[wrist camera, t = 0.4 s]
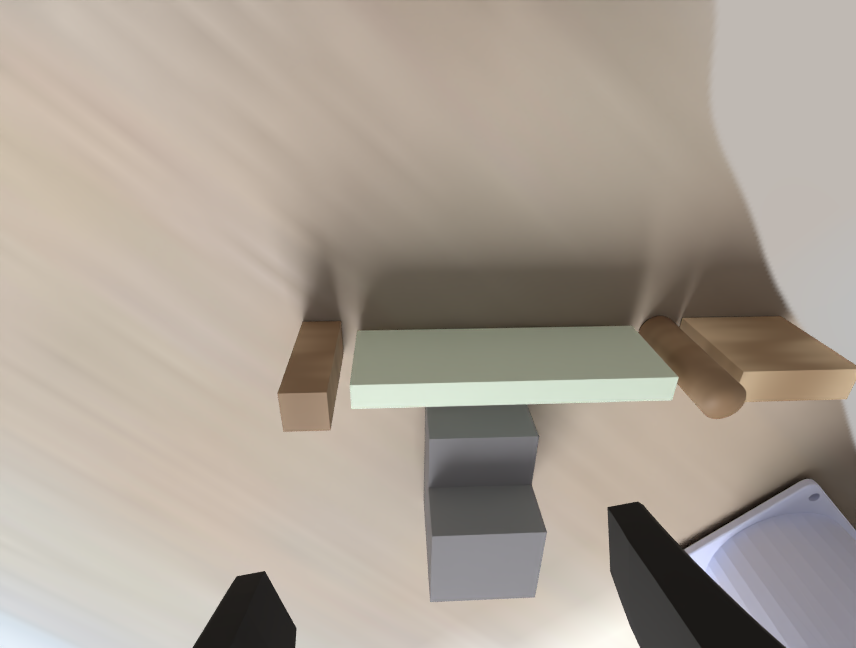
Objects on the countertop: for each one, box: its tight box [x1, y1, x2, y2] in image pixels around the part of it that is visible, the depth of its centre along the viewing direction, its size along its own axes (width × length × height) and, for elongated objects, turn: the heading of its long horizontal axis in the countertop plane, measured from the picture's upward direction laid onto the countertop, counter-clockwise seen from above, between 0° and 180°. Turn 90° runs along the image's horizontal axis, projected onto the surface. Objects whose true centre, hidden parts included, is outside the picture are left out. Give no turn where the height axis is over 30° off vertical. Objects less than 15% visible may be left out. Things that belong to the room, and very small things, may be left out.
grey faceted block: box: [424, 404, 547, 602], centre depth 20 cm, size 4×6×5 cm, turn 179°
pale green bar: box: [350, 326, 679, 409], centre depth 17 cm, size 10×2×4 cm, turn 89°
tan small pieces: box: [278, 316, 856, 432], centre depth 17 cm, size 18×1×4 cm, turn 89°
